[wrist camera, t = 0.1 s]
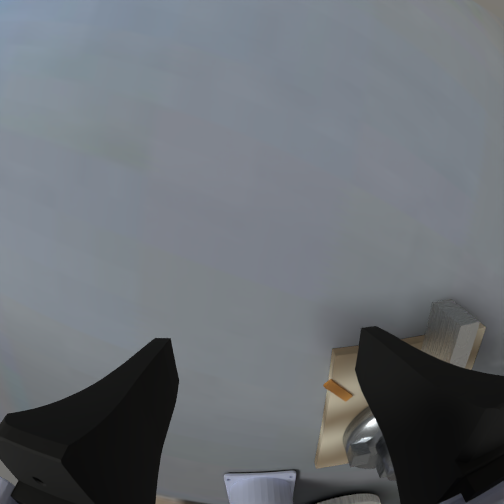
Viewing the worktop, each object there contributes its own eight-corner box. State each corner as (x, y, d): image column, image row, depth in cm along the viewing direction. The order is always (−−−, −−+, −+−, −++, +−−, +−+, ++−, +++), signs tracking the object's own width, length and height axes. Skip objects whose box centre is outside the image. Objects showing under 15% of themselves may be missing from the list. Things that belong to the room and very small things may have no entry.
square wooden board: (436, 432, 27) (440, 439, 26) (308, 462, 27) (309, 471, 26) (480, 322, 23) (487, 328, 21) (323, 349, 22) (327, 359, 21)
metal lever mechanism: (416, 442, 26) (435, 477, 20) (335, 462, 25) (347, 504, 20) (471, 283, 20) (515, 311, 14) (369, 295, 20) (406, 336, 14)
